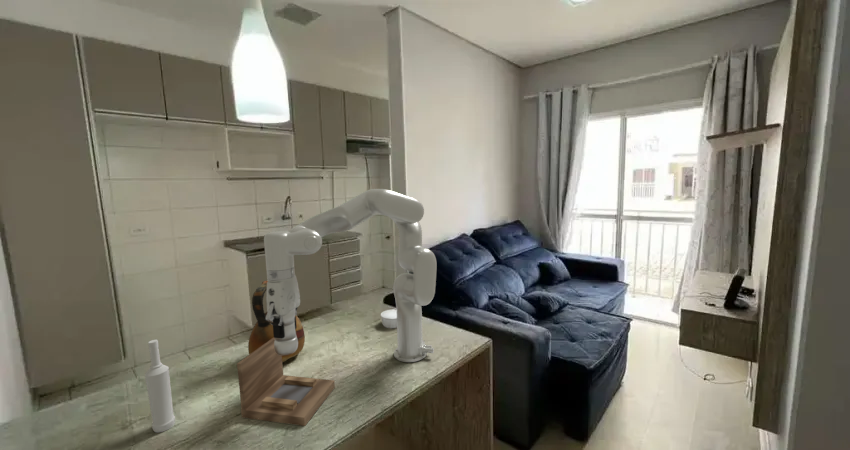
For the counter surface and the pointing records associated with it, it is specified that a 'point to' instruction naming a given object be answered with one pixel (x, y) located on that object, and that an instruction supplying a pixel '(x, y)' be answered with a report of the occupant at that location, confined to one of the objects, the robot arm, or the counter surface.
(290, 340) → the plastic bottle
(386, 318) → the ramekin
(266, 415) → the display stand
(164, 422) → the bottle
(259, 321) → the ceramic pitcher
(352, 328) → the counter surface
